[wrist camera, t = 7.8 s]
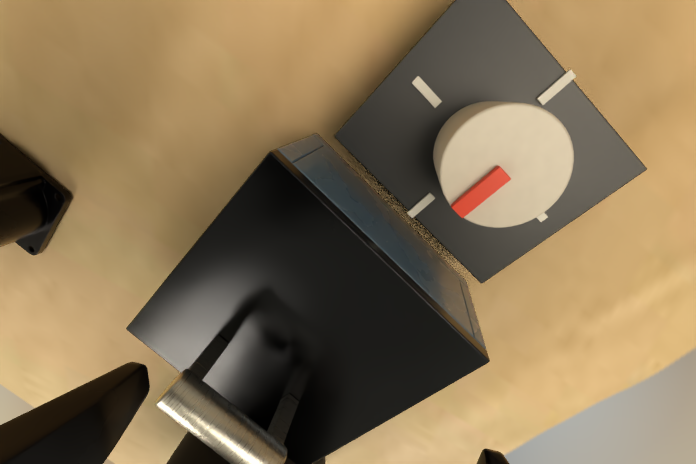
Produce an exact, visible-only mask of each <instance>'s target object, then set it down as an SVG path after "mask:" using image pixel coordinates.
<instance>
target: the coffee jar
mask: <svg viewBox="0 0 696 464" xmlns="http://www.w3.org/2000/svg"><path fill="white" fill-rule="evenodd" d="M167 464H231V463H230V462H228V461H227V460H226V459H224V458H223V457H222V456H220V455H219V454H218V453H217V452H215V451H214V450H213V449H211V448H210V447H209V446H207V445H206V444H205V443H203V442H202V441H201V440H200V439H198V438H197V437H196V436H194V435H193V434H192V433H190V432H189V431H188V432H187V434H186V435H185V437H184V438H183V440H182V441H181V443H180V444H179V446H178V447H177V449H176V450H175V452H174V453H173V455H172V456H171V458H170V459H169V461H168V462H167ZM284 464H295V463H294V462H293V461H291V460H290V459H289V458H288V457H286V460H285V463H284ZM313 464H325V457H323V458H321V459H320V460H318V461H316V462H315V463H313Z"/></svg>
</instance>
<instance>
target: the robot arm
mask: <svg viewBox="0 0 696 464" xmlns="http://www.w3.org/2000/svg"><path fill="white" fill-rule="evenodd" d="M70 199H71V198H70V195H69V193H68V192H67V191H66V190H65V189H64V188H63V187H62V186H60V185H59V184H58V183H57V182H56V181H54V180H53V179H52V178H51V177H50V176H48V175H47V174H46V173H45V172H44V171H43V170H41V169H40V168H39V167H38V166H37V165H35V164H34V163H33V162H32V161H31V160H29V159H28V158H27V157H26V156H25V155H23V154H22V153H21V152H20V151H19V150H18V149H16V148H15V147H14V146H13V145H12V144H10V143H9V142H8V141H7V140H6V139H4V138H3V137H2V136H1V135H0V247H2V246H4V245H7V244H10V243H13V242H16V243H17V244H18V245H19V246H21V247H22V248H23V249H24V250H26V251H27V252H28V253H30V254H31V255H37V254H40V253H42V252H43V250H44V248H45V247H46V245H47V243H48V241H49V239H50V237H51V235H52V234H53V232H54V230H55V228H56V226H57V224H58V223H59V221H60V219H61V217H62V215H63V213H64V211H65V210H66V208H67V206H68V204H69V202H70ZM149 387H150V385H149V378H148V371H147V367H146V366H145V365H143V364H139V363H135V362H130V363H127V364H125V365H123V366H121V367H119V368H117V369H115V370H113V371H110V372H108V373H106V374H104V375H102V376H100V377H98V378H96V379H94V380H92V381H90V382H88V383H86V384H84V385H82V386H80V387H78V388H76V389H74V390H72V391H70V392H67V393H65V394H63V395H61V396H59V397H57V398H55V399H53V400H51V401H49V402H47V403H45V404H43V405H41V406H39V407H37V408H35V409H33V410H31V411H29V412H27V413H25V414H23V415H20V416H18V417H16V418H14V419H12V420H10V421H8V422H6V423H4V424H2V425H0V464H103V463H104V461H105V460H106V459H107V457H108V456H109V454H110V453H111V452H112V450H113V449H114V447H115V446H116V444H117V442H118V441H119V439H120V438H121V436H122V434H123V433H124V431H125V430H126V428H127V427H128V425H129V423H130V422H131V420H132V419H133V417H134V415H135V414H136V412H137V411H138V409H139V407H140V406H141V404H142V403H143V401H144V400H145V398H146V396H147V394H148V392H149ZM477 464H509V463H508V461H507V460H506V458H505V457H504V455H503V454H502V453H500V452H498V451H494V450H490V449H484V450H483V451H482V452H481V455H480V457H479V459H478V462H477Z"/></svg>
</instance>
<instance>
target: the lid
mask: <svg viewBox="0 0 696 464" xmlns="http://www.w3.org/2000/svg"><path fill="white" fill-rule="evenodd" d="M126 329H127V330H128V331H129V332H130V333H132V334H133V335H134V336H135V337H137V338H138V339H139V340H140V341H142V342H143V343H144V344H145V345H147V346H148V347H149V348H151V349H152V350H153V351H154V352H156V353H157V354H158V355H159V356H161V357H162V358H163V359H164V360H166V361H167V362H168V363H169V364H171V365H172V366H173V367H174V368H176V369H177V370H178V371H179V372H181V373H180V374H179V375H178V376H177V377H176V378H175V380H174V381H173V382H172V383H171V384H170V385H169V386H168V387H167V388H166V390H165V391H164V392H163V393H162V394H161V396H160V397H159V398H158V399H157V401H156V403H155V405H156V406H157V407H158V408H159V409H160V410H162V411H163V412H164V413H166V414H167V415H168V416H170V417H171V418H172V419H174V420H175V421H176V422H177V423H179V424H180V425H181V426H183V427H184V428H185V429H187V430H188V431H189V432H190V433H192V434H193V435H194V436H196V437H197V438H198V439H200V440H201V441H202V442H203V443H205V444H206V445H207V446H209V447H210V448H211V449H213V450H214V451H215V452H217V453H218V454H219V455H220V456H222V457H223V458H224V459H226V460H227V461H228V462H230V463H231V464H284V463H285V460H286V457H288V458H289V459H290V460H291V461H293V462H294V463H295V464H313V463H315V462H316V461H318V460H320V459H321V458H323V457H325V456H327V455H328V454H330V453H332V452H334V451H335V450H337V449H339V448H341V447H342V446H344V445H346V444H348V443H349V442H351V441H353V440H355V439H356V438H358V437H360V436H361V435H363V434H365V433H367V432H368V431H370V430H372V429H374V428H375V427H377V426H379V425H381V424H382V423H384V422H386V421H388V420H389V419H391V418H393V417H394V416H396V415H398V414H400V413H401V412H403V411H405V410H407V409H408V408H410V407H412V406H414V405H415V404H417V403H419V402H421V401H422V400H424V399H426V398H428V397H429V396H431V395H433V394H434V393H436V392H438V391H440V390H441V389H443V388H445V387H447V386H448V385H450V384H452V383H454V382H455V381H457V380H459V379H461V378H462V377H464V376H466V375H467V374H469V373H471V372H473V371H474V370H476V369H478V368H480V367H481V366H483V365H485V364H487V363H488V362H489V361H490V360H489V357H488V353H487V350H486V349H484V348H483V347H482V346H481V345H480V344H479V343H478V342H477V341H476V340H475V339H474V338H473V337H472V336H471V335H470V334H469V333H468V332H467V331H466V330H465V329H464V328H463V327H462V326H461V325H460V324H458V323H457V322H456V321H455V320H454V319H453V318H452V317H451V316H450V315H449V314H448V313H447V312H446V311H445V310H444V309H443V308H442V307H441V306H440V305H439V304H438V303H437V302H436V301H435V300H434V299H432V298H431V297H430V296H429V295H428V294H427V293H426V292H425V291H424V290H423V289H422V288H421V287H420V286H419V285H418V284H417V283H416V282H415V281H414V280H413V279H412V278H411V277H410V276H409V275H408V274H406V273H405V272H404V271H403V270H402V269H401V268H400V267H399V266H398V265H397V264H396V263H395V262H394V261H393V260H392V259H391V258H390V257H389V256H388V255H387V254H386V253H385V252H384V251H383V250H382V249H380V248H379V247H378V246H377V245H376V244H375V243H374V242H373V241H372V240H371V239H370V238H369V237H368V236H367V235H366V234H365V233H364V232H363V231H362V230H361V229H360V228H359V227H358V226H357V225H356V224H354V223H353V222H352V221H351V220H350V219H349V218H348V217H347V216H346V215H345V214H344V213H343V212H342V211H341V210H340V209H339V208H338V207H337V206H336V205H335V204H334V203H333V202H332V201H331V200H330V199H328V198H327V197H326V196H325V195H324V194H323V193H322V192H321V191H320V190H319V189H318V188H317V187H316V186H315V185H314V184H313V183H312V182H311V181H310V180H309V179H308V178H307V177H306V176H305V175H304V174H302V173H301V172H300V171H299V170H298V169H297V168H296V167H295V166H294V165H293V164H292V163H291V162H290V161H289V160H288V159H287V158H286V157H285V156H284V155H283V154H282V153H281V152H280V151H279V150H277V149H275V150H272V151H270V152H269V153H268V154H267V155H266V156H265V158H264V159H263V160H262V161H261V163H260V164H259V165H258V166H257V168H256V169H255V170H254V171H253V172H252V174H251V175H250V176H249V177H248V179H247V180H246V181H245V182H244V184H243V185H242V186H241V187H240V188H239V190H238V191H237V192H236V193H235V195H234V196H233V197H232V198H231V200H230V201H229V202H228V203H227V205H226V206H225V207H224V208H223V209H222V211H221V212H220V213H219V214H218V216H217V217H216V218H215V219H214V221H213V222H212V223H211V224H210V226H209V227H208V228H207V229H206V230H205V232H204V233H203V234H202V235H201V237H200V238H199V239H198V240H197V242H196V243H195V244H194V245H193V246H192V248H191V249H190V250H189V251H188V253H187V254H186V255H185V256H184V258H183V259H182V260H181V261H180V263H179V264H178V265H177V266H176V267H175V269H174V270H173V271H172V272H171V274H170V275H169V276H168V277H167V279H166V280H165V281H164V282H163V283H162V285H161V286H160V287H159V288H158V290H157V291H156V292H155V293H154V295H153V296H152V297H151V298H150V300H149V301H148V302H147V303H146V304H145V306H144V307H143V308H142V309H141V311H140V312H139V313H138V314H137V316H136V317H135V318H134V319H133V321H132V322H131V323H130V324H129V325H128V327H127V328H126Z"/></svg>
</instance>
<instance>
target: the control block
mask: <svg viewBox="0 0 696 464" xmlns="http://www.w3.org/2000/svg"><path fill="white" fill-rule="evenodd" d="M575 77H576V75H575V74H574V73H573V71H572V70H571V69H570V70H568V71H567V72H566V71H565V70H564V69H563V68H562V66H561V65H560V64H559V63H558V62H557V60H556V59H555V58H554V57H553V56H552V54H551V53H550V52H549V51H548V50H547V49H546V47H545V46H544V45H543V44H542V43H541V41H540V40H539V39H538V38H537V37H536V35H535V34H534V33H533V32H532V31H531V29H530V28H529V27H528V26H527V25H526V23H525V22H524V21H523V20H522V19H521V17H520V16H519V15H518V14H517V13H516V11H515V10H514V9H513V8H512V7H511V5H510V4H509V3H508V2H507V1H506V0H455V1H454V2H453V3H452V4H451V5H450V7H449V8H448V9H447V10H446V11H445V12H444V13H443V14H442V15H441V17H440V18H439V19H438V20H437V21H436V22H435V23H434V24H433V26H432V27H431V28H430V29H429V30H428V31H427V32H426V33H425V35H424V36H423V37H422V38H421V39H420V40H419V41H418V42H417V44H416V45H415V46H414V47H413V48H412V49H411V50H410V51H409V53H408V54H407V55H406V56H405V57H404V58H403V59H402V60H401V61H400V63H399V64H398V65H397V66H396V67H395V68H394V69H393V70H392V72H391V73H390V74H389V75H388V76H387V77H386V78H385V79H384V81H383V82H382V83H381V84H380V85H379V86H378V87H377V88H376V90H375V91H374V92H373V93H372V94H371V95H370V96H369V97H368V99H367V100H366V101H365V102H364V103H363V104H362V105H361V106H360V107H359V109H358V110H357V111H356V112H355V113H354V114H353V115H352V116H351V118H350V119H349V120H348V121H347V122H346V123H345V124H344V125H343V127H342V128H341V129H340V130H339V131H338V132H337V133H336V134H335V138H336V139H337V140H338V141H339V142H340V143H341V144H342V145H343V146H344V147H345V148H346V149H347V150H348V151H349V152H350V153H351V154H352V155H353V156H354V157H355V158H356V159H357V160H358V161H359V162H360V163H361V164H362V165H363V166H364V167H365V168H366V169H367V170H368V171H369V172H370V173H371V174H372V175H373V176H374V177H375V178H376V179H377V180H378V181H379V182H380V183H381V184H382V185H383V186H384V187H385V188H386V189H387V190H388V191H389V192H390V193H391V194H392V195H393V196H394V197H395V198H396V199H397V200H398V201H399V202H400V203H401V204H402V205H403V206H404V207H405V208H406V209H407V210H408V212H407V214H408V215H409V216H410V217H411V218H413V217H415V218H416V219H417V220H418V221H419V222H420V223H421V224H422V225H423V226H424V227H425V228H426V229H427V230H428V231H429V232H430V233H431V234H432V235H433V236H434V237H435V238H436V239H437V240H438V241H439V242H440V243H441V244H442V245H443V246H444V247H445V248H446V249H447V250H448V251H449V252H450V253H451V254H452V255H453V256H454V257H455V258H456V259H457V260H458V261H459V262H460V263H461V264H462V265H463V266H464V267H465V268H466V269H467V270H468V271H469V272H470V273H471V274H472V275H473V276H474V277H475V278H476V279H477V280H478V281H479V282H480V283H483V282H485V281H486V280H488V279H489V278H491V277H492V276H494V275H495V274H496V273H498V272H499V271H501V270H502V269H504V268H505V267H507V266H508V265H509V264H511V263H512V262H514V261H515V260H517V259H518V258H520V257H521V256H522V255H524V254H525V253H527V252H528V251H530V250H531V249H533V248H534V247H535V246H537V245H538V244H540V243H541V242H543V241H544V240H546V239H547V238H548V237H550V236H551V235H553V234H554V233H556V232H557V231H559V230H560V229H561V228H563V227H564V226H566V225H567V224H569V223H570V222H572V221H573V220H574V219H576V218H577V217H579V216H580V215H582V214H583V213H585V212H586V211H587V210H589V209H590V208H592V207H593V206H595V205H596V204H598V203H599V202H601V201H602V200H603V199H605V198H606V197H608V196H609V195H611V194H612V193H614V192H615V191H616V190H618V189H619V188H621V187H622V186H624V185H625V184H627V183H628V182H629V181H631V180H632V179H634V178H635V177H637V176H638V175H640V174H641V173H642V172H644V171H645V170H647V168H646V167H645V166H644V164H643V163H642V162H641V161H640V160H639V159H638V157H637V156H636V155H635V154H634V153H633V151H632V150H631V149H630V148H629V147H628V145H627V144H626V143H625V142H624V141H623V139H622V138H621V137H620V136H619V135H618V133H617V132H616V131H615V130H614V129H613V127H612V126H611V125H610V124H609V123H608V121H607V120H606V119H605V118H604V117H603V115H602V114H601V113H600V112H599V111H598V109H597V108H596V107H595V106H594V105H593V104H592V102H591V101H590V100H589V99H588V98H587V96H586V95H585V94H584V93H583V92H582V90H581V89H580V88H579V87H578V86H577V84H576V83H575V82H574V81H573V79H574V78H575ZM484 101H499V102H516V103H526V104H532V105H535V106H538V107H541V108H543V109H545V110H547V111H548V112H550V113H551V114H553V115H554V116H555V117H556V118H557V119H558V120H559V121H560V122H561V123H562V124H563V125H564V127H565V128H566V130H567V132H568V134H569V136H570V138H571V141H572V145H573V151H574V163H573V170H572V174H571V177H570V180H569V182H568V184H567V187H566V188H565V190H564V192H563V193H562V195H561V196H560V197H559V199H558V200H557V201H556V202H555V203H554V204H553V205H552V206H551V207H550V208H549V209H548V210H546V211H545V212H544V213H542V214H541V215H539V216H538V217H536V218H534V219H532V220H530V221H528V222H525V223H523V224H520V225H516V226H511V227H503V228H494V227H486V226H481V225H478V224H475V223H472V222H470V221H468V220H466V219H465V218H461V217H460V216H459V215H458V214H457V213H456V212H455V211H454V210H453V209H452V208H451V206H450V205H449V203H448V201H447V200H446V198H445V196H444V194H443V191H442V188H441V185H440V182H439V179H438V176H437V173H436V170H435V166H434V160H433V150H434V145H435V141H436V138H437V136H438V133H439V131H440V130H441V128H442V127H443V125H444V124H445V122H446V121H447V120H448V119H449V118H450V117H451V116H452V115H454V114H455V113H456V112H457V111H459V110H460V109H462V108H464V107H466V106H468V105H471V104H474V103H478V102H484Z"/></svg>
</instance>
